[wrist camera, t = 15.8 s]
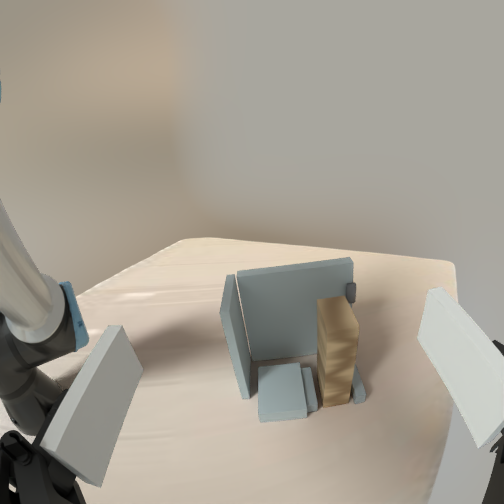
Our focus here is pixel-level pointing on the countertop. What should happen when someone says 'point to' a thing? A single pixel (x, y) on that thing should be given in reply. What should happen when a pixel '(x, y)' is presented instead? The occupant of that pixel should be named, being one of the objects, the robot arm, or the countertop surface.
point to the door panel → (335, 349)
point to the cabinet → (282, 331)
